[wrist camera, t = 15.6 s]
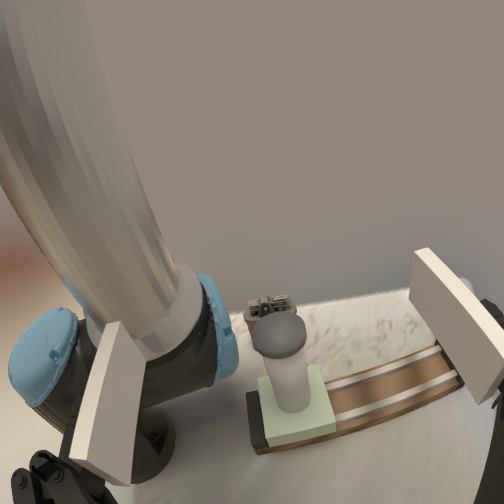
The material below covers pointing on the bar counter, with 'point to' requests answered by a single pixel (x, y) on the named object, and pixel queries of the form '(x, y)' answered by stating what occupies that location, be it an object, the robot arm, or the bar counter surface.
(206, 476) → the bar counter surface
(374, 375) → the rail track
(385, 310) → the bar counter surface
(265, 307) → the lighter
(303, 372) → the carriage
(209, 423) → the bar counter surface
